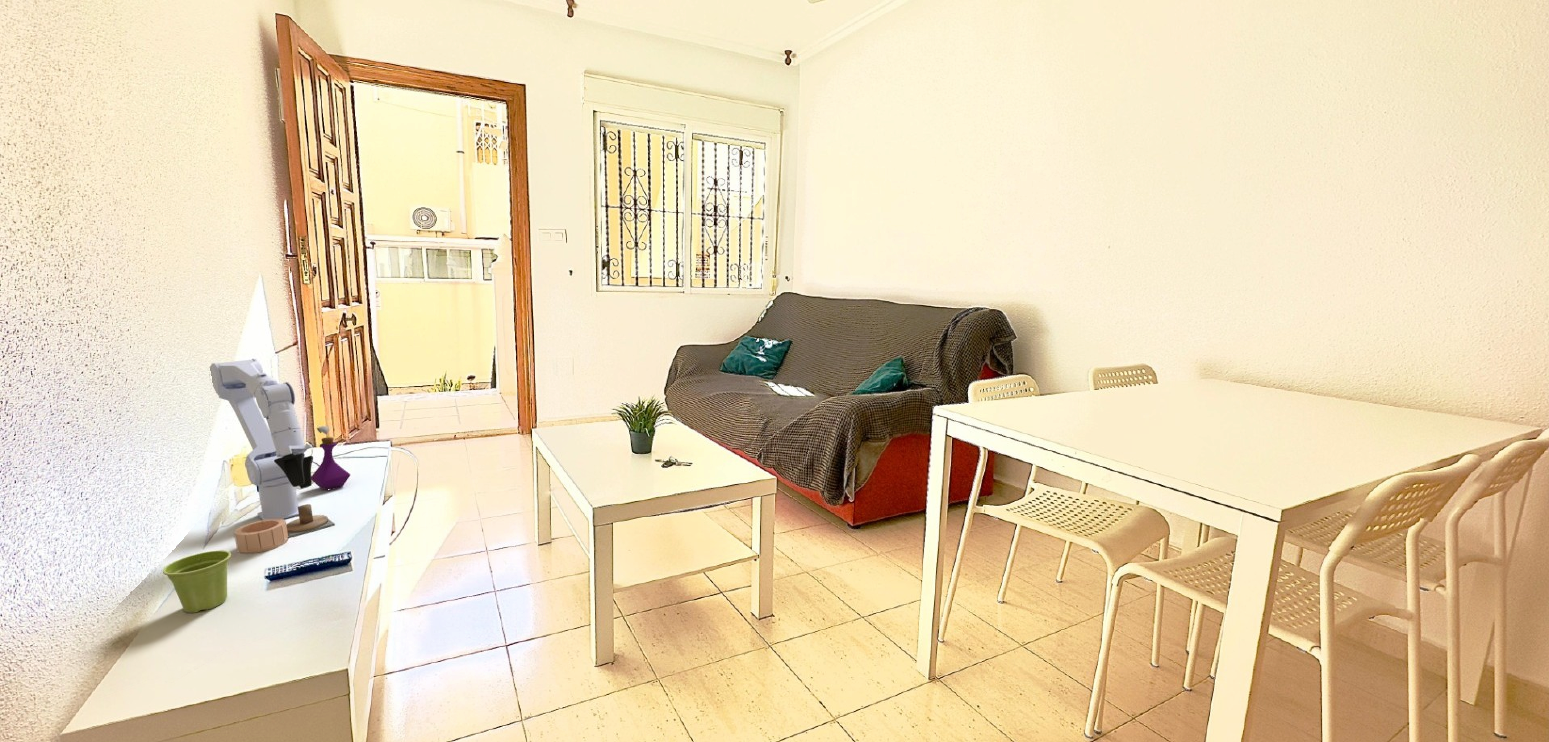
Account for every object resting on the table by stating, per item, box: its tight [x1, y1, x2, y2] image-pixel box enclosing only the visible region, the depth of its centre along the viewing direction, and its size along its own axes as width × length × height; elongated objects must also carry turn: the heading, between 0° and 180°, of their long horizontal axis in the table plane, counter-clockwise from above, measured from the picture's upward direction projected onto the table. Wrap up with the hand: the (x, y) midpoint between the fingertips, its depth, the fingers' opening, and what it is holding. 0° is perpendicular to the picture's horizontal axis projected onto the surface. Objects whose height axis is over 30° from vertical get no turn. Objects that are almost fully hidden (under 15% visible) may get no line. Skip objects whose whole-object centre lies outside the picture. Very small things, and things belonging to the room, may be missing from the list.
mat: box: [287, 518, 336, 538], centre depth 156 cm, size 9×9×1 cm
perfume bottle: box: [311, 425, 351, 491], centre depth 183 cm, size 8×8×18 cm
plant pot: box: [162, 549, 232, 614], centre depth 119 cm, size 9×9×9 cm
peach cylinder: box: [233, 519, 289, 555], centre depth 145 cm, size 9×9×4 cm
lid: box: [286, 504, 329, 532], centre depth 155 cm, size 8×8×5 cm
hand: (302, 486), depth 152 cm, fingers open, 7 cm apart
